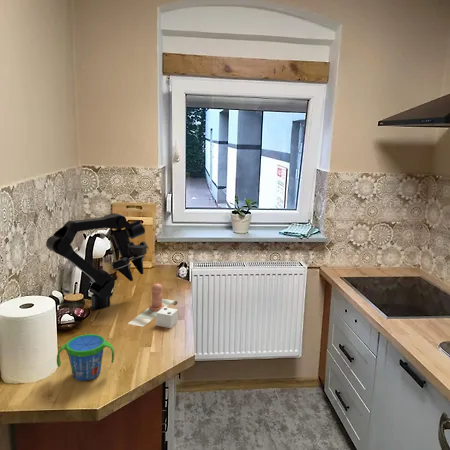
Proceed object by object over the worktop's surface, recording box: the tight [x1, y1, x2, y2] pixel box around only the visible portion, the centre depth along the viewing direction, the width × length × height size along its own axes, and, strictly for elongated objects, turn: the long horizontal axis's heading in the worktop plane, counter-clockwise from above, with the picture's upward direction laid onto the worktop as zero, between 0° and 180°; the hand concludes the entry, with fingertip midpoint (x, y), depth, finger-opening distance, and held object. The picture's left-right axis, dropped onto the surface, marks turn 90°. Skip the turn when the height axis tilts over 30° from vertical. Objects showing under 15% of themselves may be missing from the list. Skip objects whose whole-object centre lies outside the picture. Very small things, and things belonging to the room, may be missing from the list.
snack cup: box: [56, 333, 115, 382], centre depth 112 cm, size 16×10×10 cm
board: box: [127, 298, 178, 328], centre depth 156 cm, size 28×9×1 cm, turn 163°
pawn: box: [148, 283, 164, 312], centre depth 158 cm, size 6×6×10 cm
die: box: [155, 307, 179, 329], centre depth 146 cm, size 6×6×6 cm
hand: (137, 277), depth 162 cm, fingers open, 9 cm apart
